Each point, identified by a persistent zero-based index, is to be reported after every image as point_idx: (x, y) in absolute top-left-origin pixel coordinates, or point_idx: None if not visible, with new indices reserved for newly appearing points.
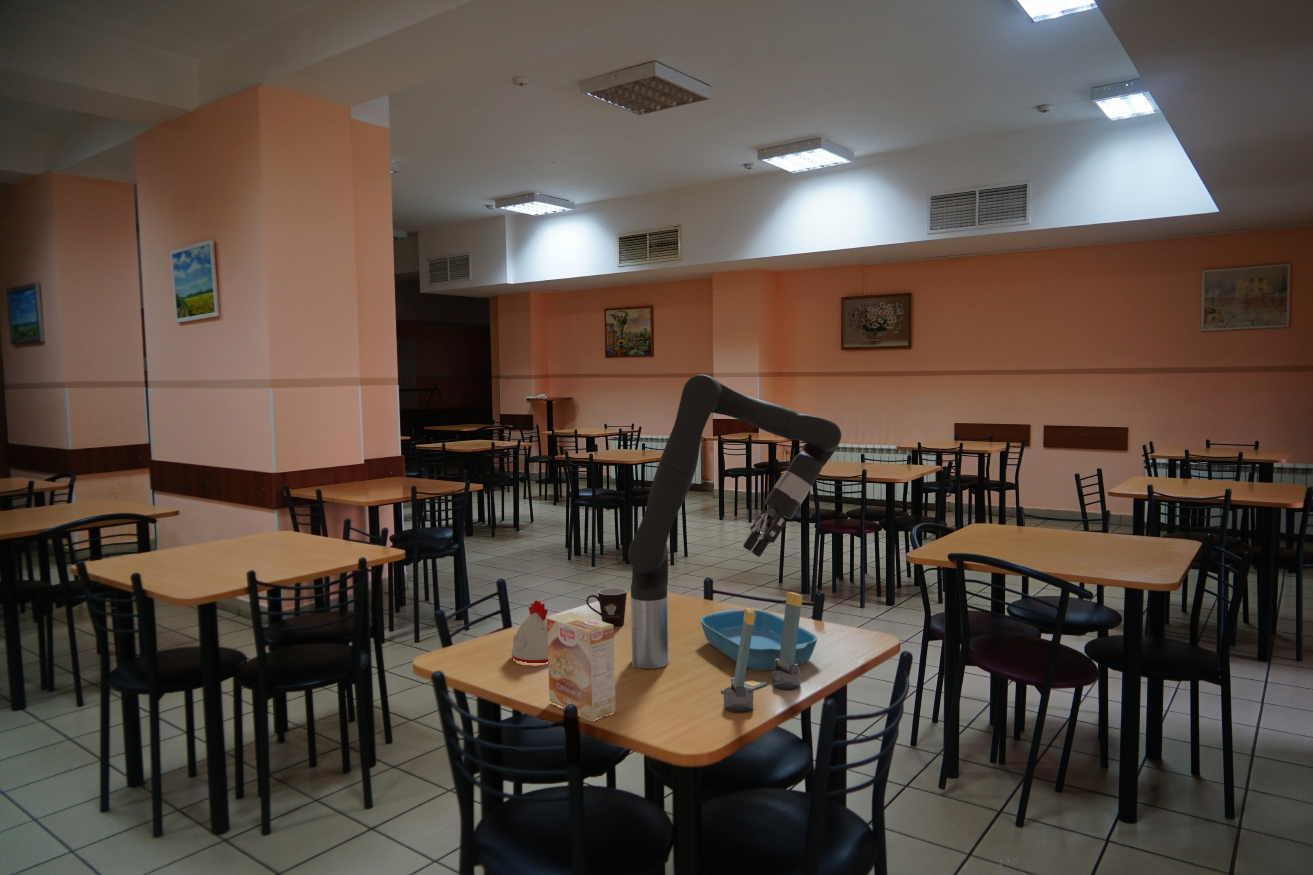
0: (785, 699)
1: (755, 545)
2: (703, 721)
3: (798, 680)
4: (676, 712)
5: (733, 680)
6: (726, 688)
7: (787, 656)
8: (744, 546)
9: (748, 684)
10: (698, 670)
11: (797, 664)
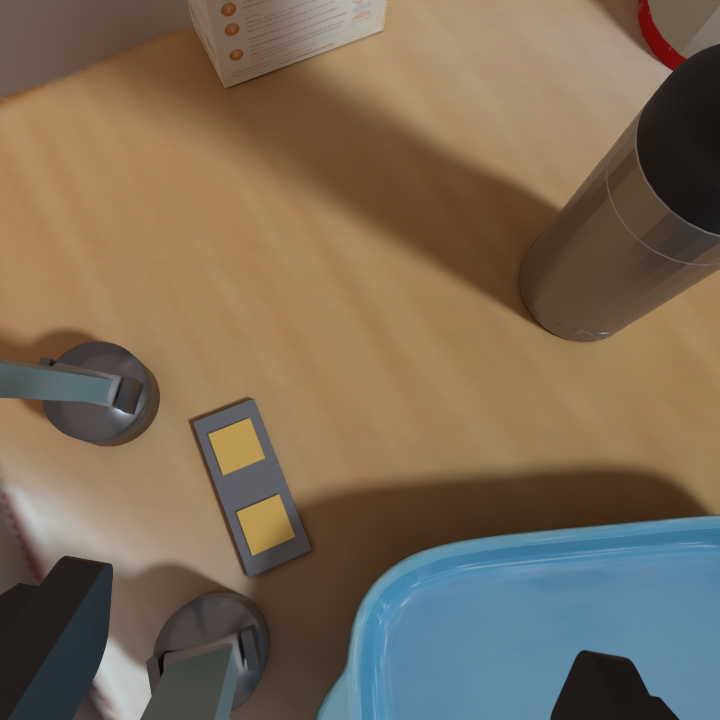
0: None
1: (46, 638)
2: (66, 267)
3: None
4: (160, 224)
5: (110, 376)
6: (137, 364)
7: (181, 670)
8: (584, 660)
9: (258, 504)
10: (465, 406)
11: None
